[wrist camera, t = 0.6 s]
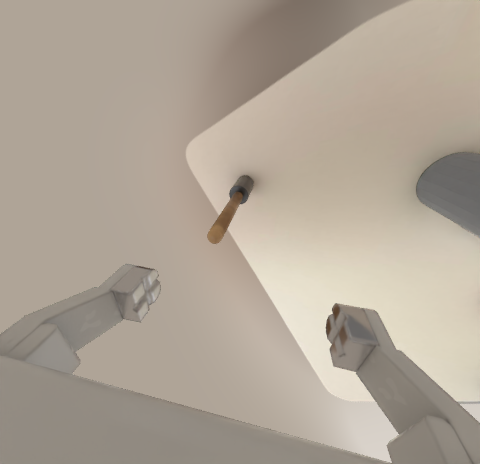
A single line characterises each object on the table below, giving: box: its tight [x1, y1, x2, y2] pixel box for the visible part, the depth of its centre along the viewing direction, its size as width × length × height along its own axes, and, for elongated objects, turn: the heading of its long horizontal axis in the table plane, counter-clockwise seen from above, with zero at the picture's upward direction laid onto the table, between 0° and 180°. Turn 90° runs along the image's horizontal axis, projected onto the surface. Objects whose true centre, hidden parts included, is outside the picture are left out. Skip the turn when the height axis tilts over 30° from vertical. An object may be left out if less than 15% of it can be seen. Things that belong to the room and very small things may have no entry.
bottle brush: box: [207, 176, 253, 244], centre depth 25 cm, size 3×3×18 cm
